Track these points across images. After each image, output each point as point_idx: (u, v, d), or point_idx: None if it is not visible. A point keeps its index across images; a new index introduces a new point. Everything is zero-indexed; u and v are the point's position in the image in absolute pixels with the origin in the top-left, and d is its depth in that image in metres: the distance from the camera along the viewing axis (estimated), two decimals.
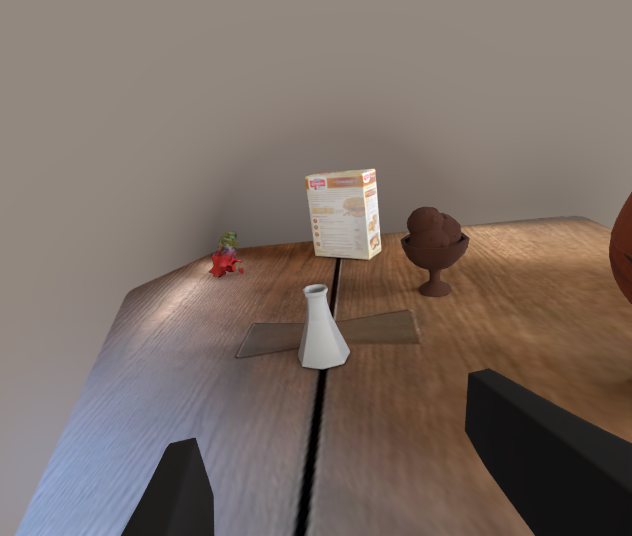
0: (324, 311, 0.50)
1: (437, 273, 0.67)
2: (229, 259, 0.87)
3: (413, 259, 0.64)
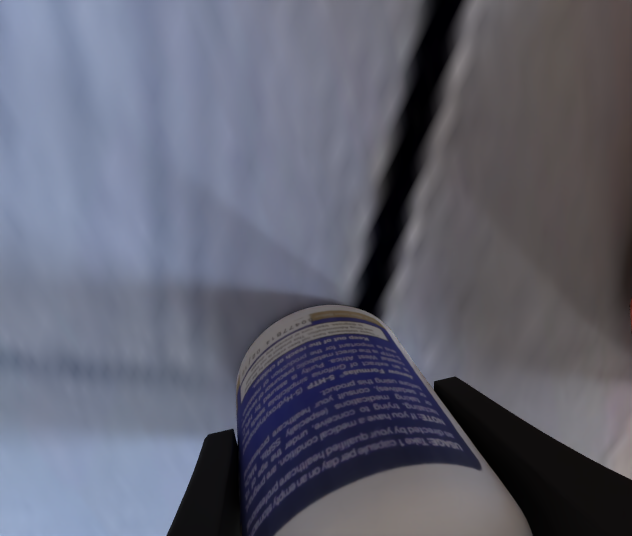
0: None
1: None
2: None
3: None
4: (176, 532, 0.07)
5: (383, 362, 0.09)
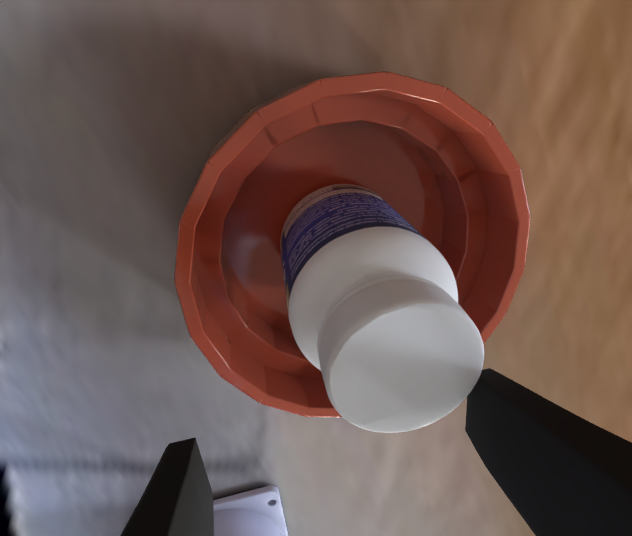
0: None
1: None
2: None
3: None
4: None
5: (377, 203, 0.14)
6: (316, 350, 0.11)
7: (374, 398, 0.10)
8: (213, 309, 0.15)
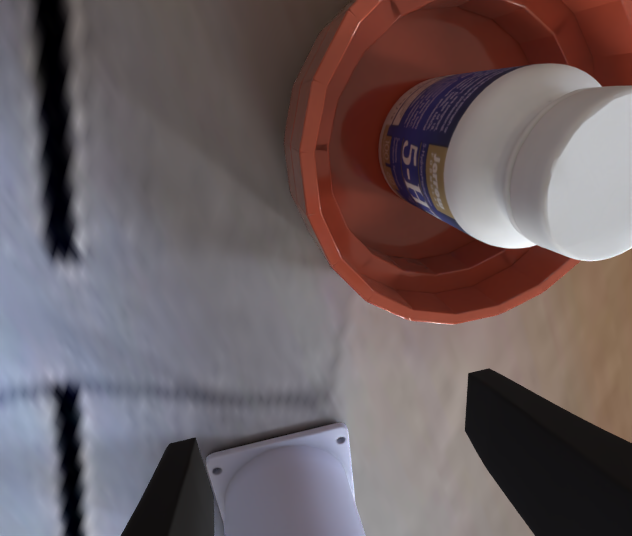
0: None
1: None
2: None
3: None
4: None
5: None
6: (484, 197, 0.11)
7: (585, 212, 0.09)
8: None
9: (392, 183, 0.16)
